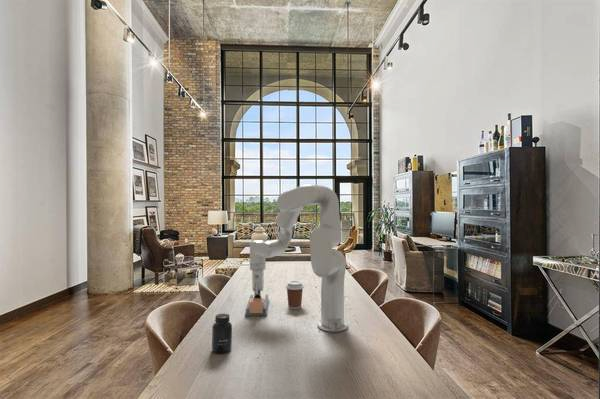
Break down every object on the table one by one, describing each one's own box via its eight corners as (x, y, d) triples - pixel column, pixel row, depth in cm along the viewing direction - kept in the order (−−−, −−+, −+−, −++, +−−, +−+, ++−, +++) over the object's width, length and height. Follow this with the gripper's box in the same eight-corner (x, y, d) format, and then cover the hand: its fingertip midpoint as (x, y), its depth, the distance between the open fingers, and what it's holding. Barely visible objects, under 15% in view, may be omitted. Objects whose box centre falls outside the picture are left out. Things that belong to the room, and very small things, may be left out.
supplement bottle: (221, 356, 111) (221, 320, 111) (207, 351, 115) (207, 316, 115) (235, 348, 117) (236, 314, 117) (222, 344, 121) (222, 311, 121)
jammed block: (262, 313, 150) (262, 302, 150) (249, 313, 150) (249, 302, 150) (263, 308, 156) (263, 298, 156) (250, 308, 156) (250, 298, 156)
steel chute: (266, 316, 150) (266, 308, 150) (244, 316, 149) (244, 308, 149) (269, 301, 172) (269, 294, 172) (249, 301, 171) (249, 294, 171)
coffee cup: (288, 310, 158) (288, 285, 158) (283, 304, 166) (283, 281, 166) (306, 308, 161) (306, 283, 161) (300, 303, 169) (300, 279, 169)
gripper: (264, 269, 151) (264, 309, 151) (266, 263, 166) (266, 299, 166) (248, 269, 151) (247, 309, 151) (251, 263, 166) (251, 299, 166)
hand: (257, 304), depth 159 cm, fingers closed
